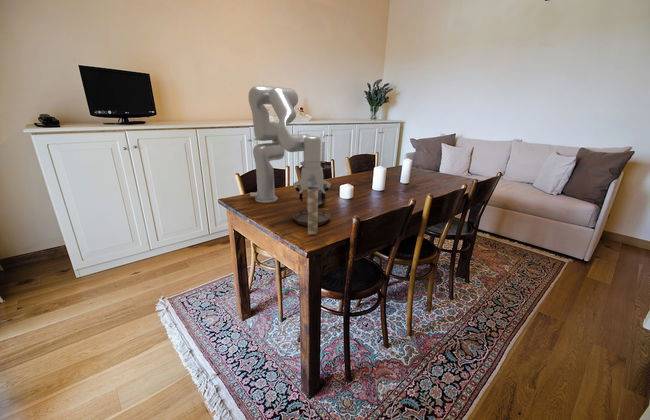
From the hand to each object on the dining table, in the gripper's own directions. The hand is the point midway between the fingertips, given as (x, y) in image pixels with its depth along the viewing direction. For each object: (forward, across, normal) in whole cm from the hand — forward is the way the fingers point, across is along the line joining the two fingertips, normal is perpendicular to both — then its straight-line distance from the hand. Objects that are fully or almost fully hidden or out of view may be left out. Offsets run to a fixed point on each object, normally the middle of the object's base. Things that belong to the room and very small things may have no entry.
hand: (312, 201), depth 131 cm
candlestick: (+10, +9, +56) cm, 58 cm away
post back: (+10, 0, +12) cm, 15 cm away
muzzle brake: (+10, +4, +31) cm, 33 cm away
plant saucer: (+10, 0, 0) cm, 10 cm away
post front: (+10, 0, -11) cm, 15 cm away
